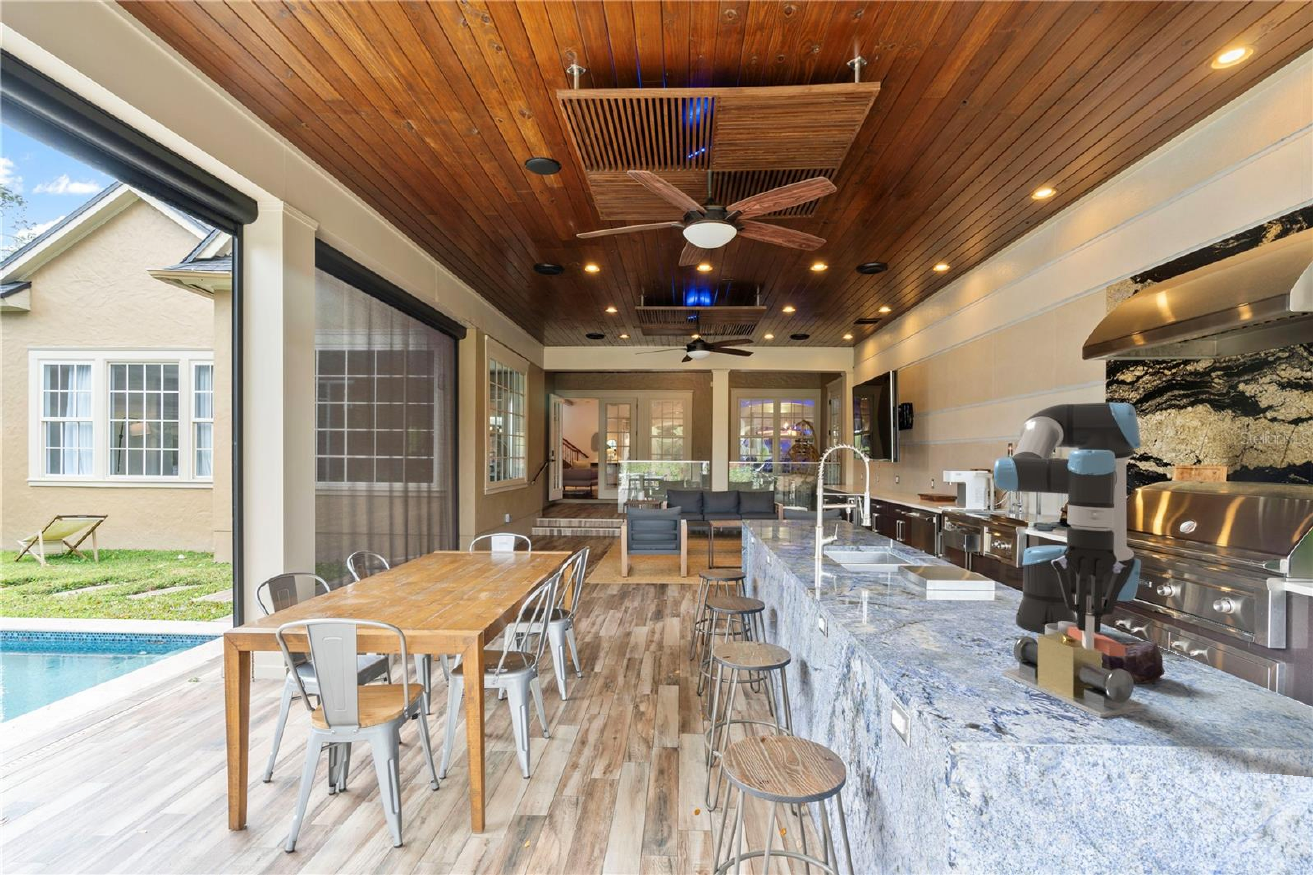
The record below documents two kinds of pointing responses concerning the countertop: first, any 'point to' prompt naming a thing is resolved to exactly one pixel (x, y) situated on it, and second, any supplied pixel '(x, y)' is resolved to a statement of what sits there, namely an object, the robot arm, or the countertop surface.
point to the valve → (1073, 675)
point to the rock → (1138, 662)
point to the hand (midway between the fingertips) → (1088, 647)
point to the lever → (1100, 641)
